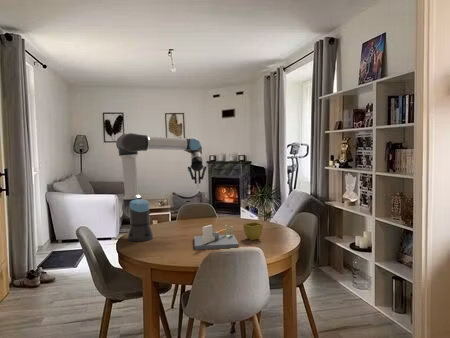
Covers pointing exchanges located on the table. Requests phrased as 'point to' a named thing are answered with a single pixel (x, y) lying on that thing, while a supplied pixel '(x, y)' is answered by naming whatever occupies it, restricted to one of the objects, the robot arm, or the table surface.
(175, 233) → the table surface
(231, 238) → the lever toy board
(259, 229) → the flower pot
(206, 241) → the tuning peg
